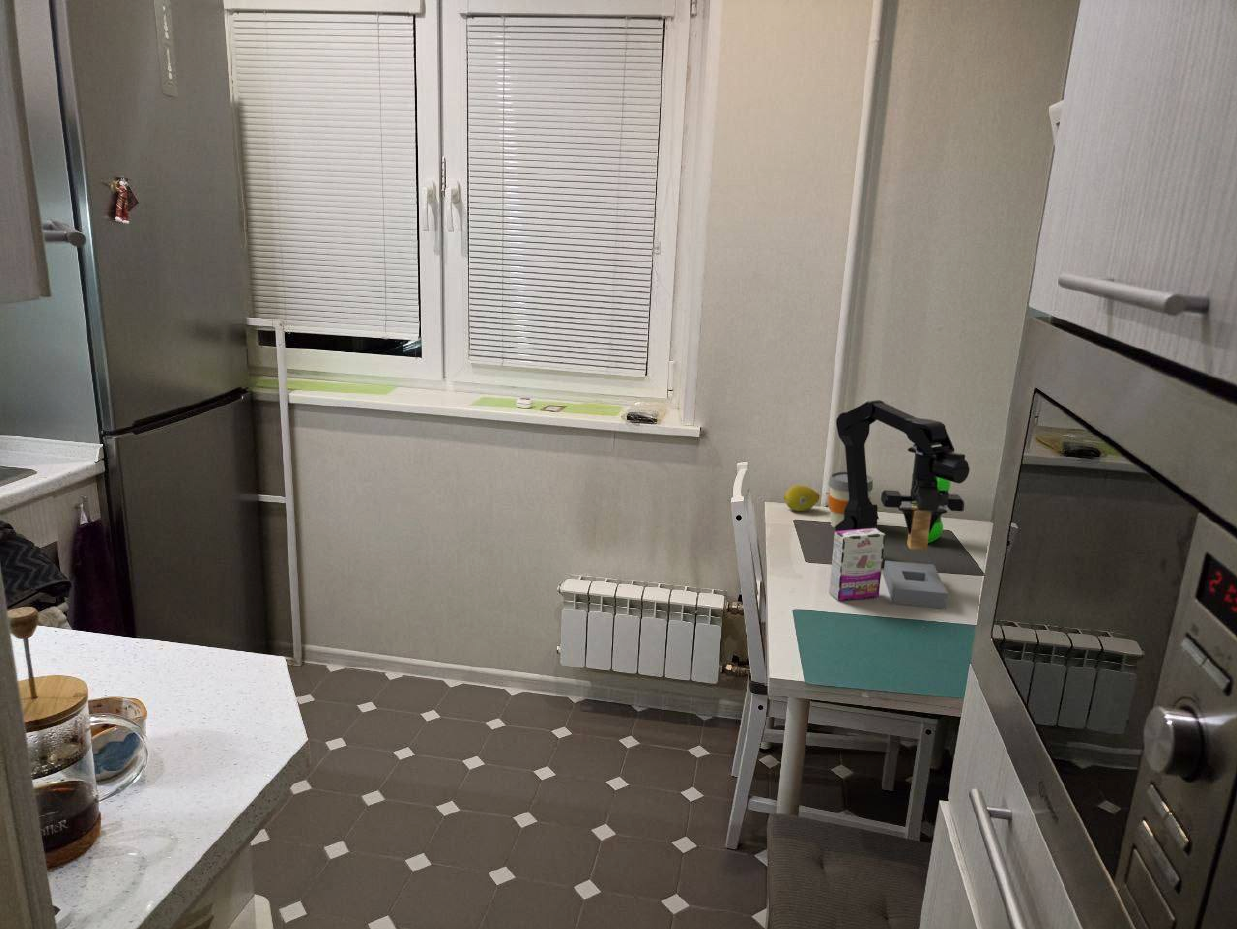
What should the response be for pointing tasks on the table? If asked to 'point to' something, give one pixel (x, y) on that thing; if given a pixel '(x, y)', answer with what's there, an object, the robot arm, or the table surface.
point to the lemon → (801, 498)
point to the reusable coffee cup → (841, 495)
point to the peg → (919, 529)
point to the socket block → (915, 584)
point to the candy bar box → (857, 564)
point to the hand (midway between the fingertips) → (918, 533)
